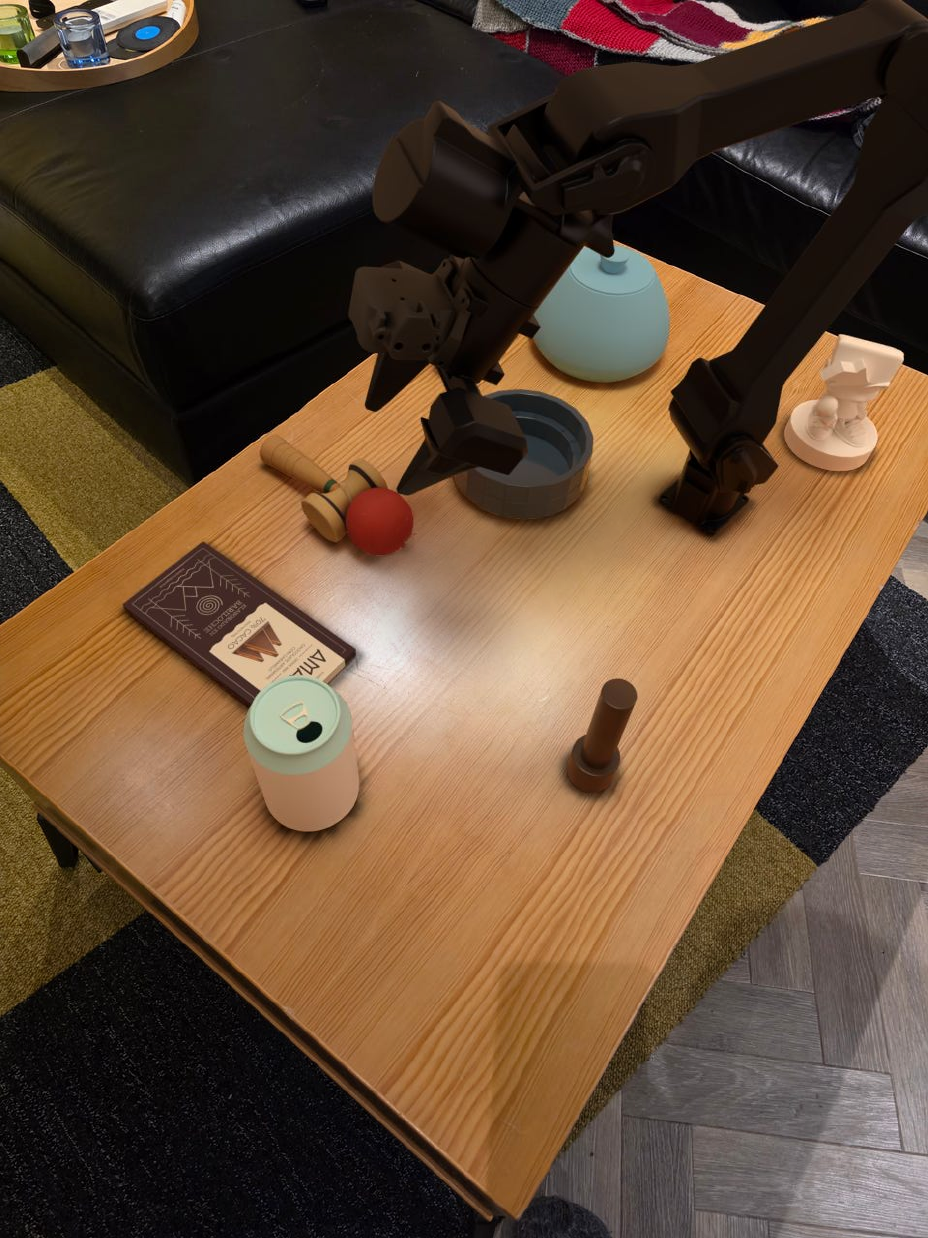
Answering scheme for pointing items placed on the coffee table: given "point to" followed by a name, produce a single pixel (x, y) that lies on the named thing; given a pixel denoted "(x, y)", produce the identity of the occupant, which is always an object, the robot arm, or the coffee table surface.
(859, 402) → the character figurine
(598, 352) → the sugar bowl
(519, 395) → the bowl
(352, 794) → the can
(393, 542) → the kendama
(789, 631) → the coffee table surface
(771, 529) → the coffee table surface
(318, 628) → the chocolate bar
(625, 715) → the pestle
